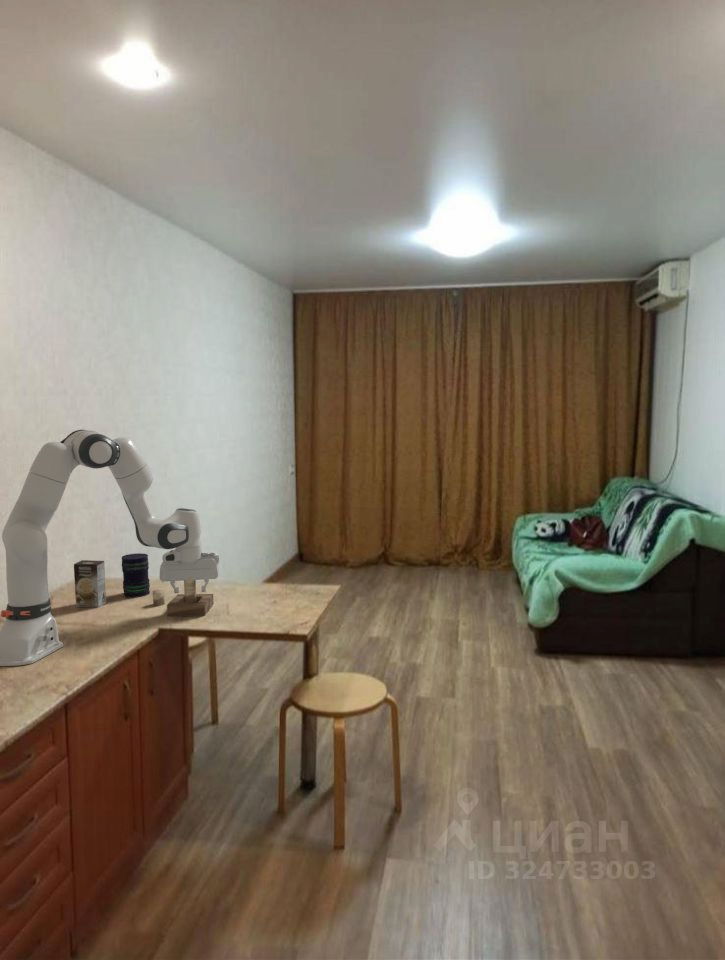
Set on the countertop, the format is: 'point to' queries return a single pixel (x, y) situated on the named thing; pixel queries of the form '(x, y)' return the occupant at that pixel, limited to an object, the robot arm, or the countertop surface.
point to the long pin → (190, 590)
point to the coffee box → (89, 583)
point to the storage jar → (135, 575)
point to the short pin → (158, 597)
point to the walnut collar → (190, 605)
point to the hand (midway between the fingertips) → (190, 592)
